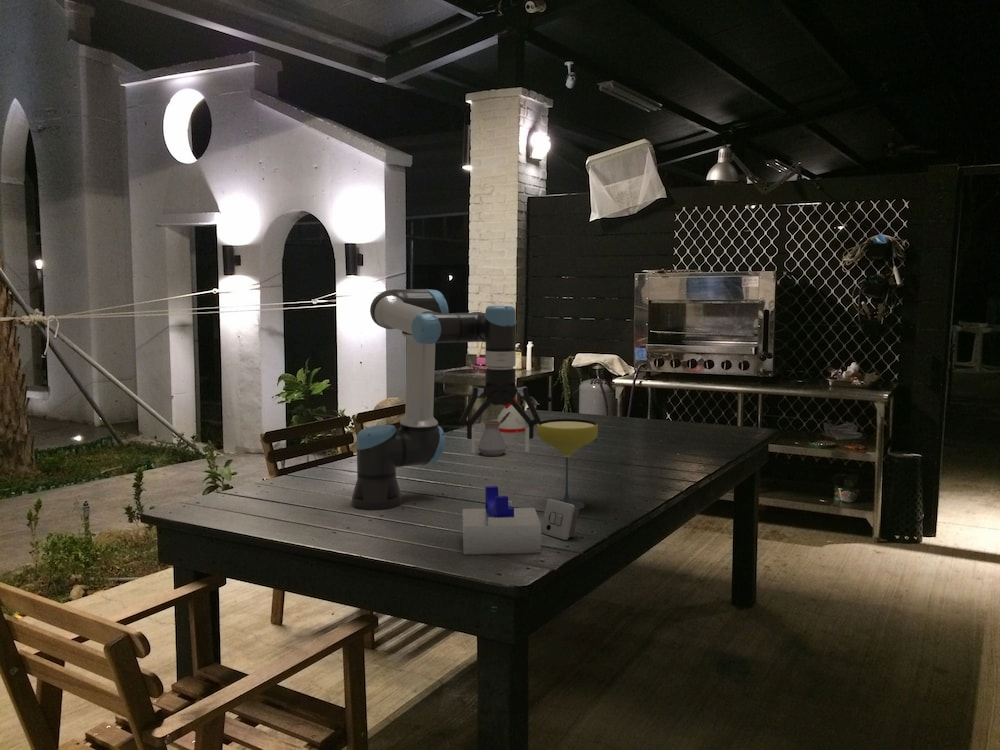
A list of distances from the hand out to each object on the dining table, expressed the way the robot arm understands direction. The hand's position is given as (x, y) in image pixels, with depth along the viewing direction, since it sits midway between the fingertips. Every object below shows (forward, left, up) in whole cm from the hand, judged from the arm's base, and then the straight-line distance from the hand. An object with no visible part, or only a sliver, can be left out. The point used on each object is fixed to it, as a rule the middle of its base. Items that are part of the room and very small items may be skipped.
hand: (500, 451), depth 205 cm
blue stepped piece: (0, 0, -16) cm, 16 cm away
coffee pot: (+6, +118, -24) cm, 121 cm away
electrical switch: (+16, +6, -24) cm, 30 cm away
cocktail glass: (+22, +35, -24) cm, 48 cm away
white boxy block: (0, 0, -24) cm, 24 cm away
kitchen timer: (+15, +170, -24) cm, 173 cm away
